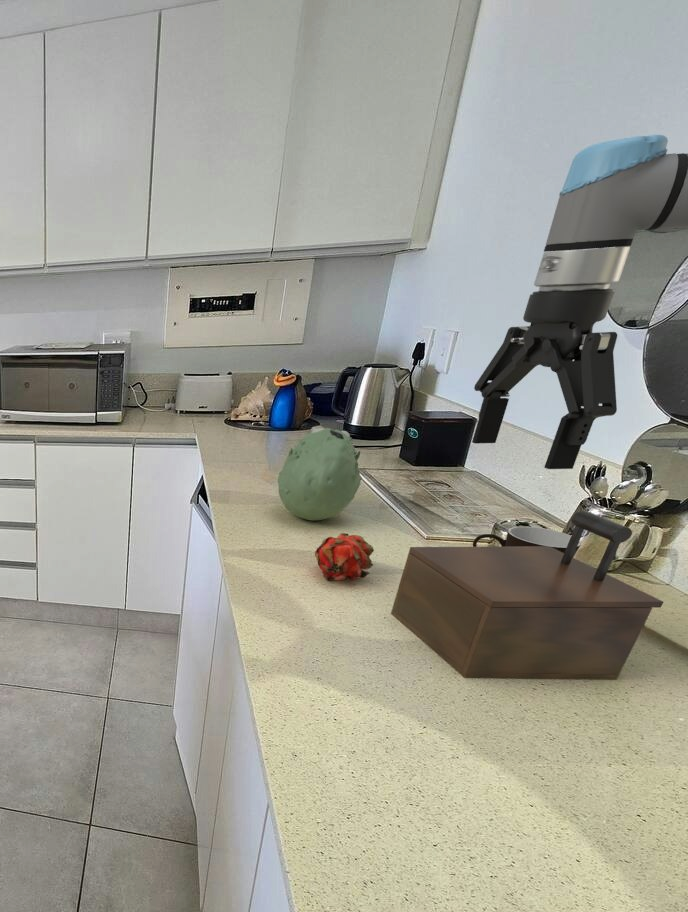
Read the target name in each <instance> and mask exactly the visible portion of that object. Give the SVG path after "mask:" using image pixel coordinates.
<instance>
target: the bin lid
mask: <svg viewBox="0 0 688 912" xmlns="http://www.w3.org/2000/svg"><path fill="white" fill-rule="evenodd" d="M570 522H571V524H572V526H574V528H573V531H572V533H571V538H570V540H569V543H568V545H567V548H566V550H565V553H562V552H560V551H558V550H556V549H554V548H552V547H550V546H501V545H499V546H477V547H473V546H410V548H409V550H408V553H409V552H410V553H411V554H413V555H414V556H416V557H417V558H419V559H420V560H422V561H423V562H425V563H426V564H428V565H429V566H431V567H432V568H434V569H435V570H437V571H438V572H440V573H441V574H442V575H444V576H445V577H447V578H448V579H450V580H451V581H453V582H454V583H456V584H457V585H459V586H460V587H462V588H463V589H465V590H466V591H468V592H469V593H471V594H472V595H474V596H475V597H477V598H478V599H480V600H481V601H483V602H484V603H485V604H487V605H488V606H490V607H644V608H652V609H654V608H657V609H658V608H662V606H663V605H664V601H663V600H661V599H659V598H658V597H657V598H656V597H655V596H653V595H651V594H648V593H647V592H644V591H643V590H641V589H639V588H636V587H634V586H632V585H630V584H628V583H626V582H624V581H622V580H620V579H618V578H615V577H614V576H612V575H610V574H608V571H609V569H610V567H611V564H612V562H613V560H614V558H615V556H616V553H617V551H618V549H619V547H620V545H621V544H622V543H626V541H628V540H629V539H630V538H631V537H632V535H633V531H632V529H631V527H628V526H626V525H623V524H620V523H618V522H615V521H613V520H611V519H607V518H605V517H602V516H600V515H598V514H595V513H592V512H590V511H587V510H579V511H577V512H575V513H574V514H573V515H572V516H571V519H570ZM584 531H587V532H590V533H592V534H594V535H596V536H599V537H601V538H603V539H606V540H608V544H607V546H606V548H605V551H604V553H603V555H602V557H601V559H600V562H599V564H598V566H597V568H595V567H593V566H590V565H589V564H587V563H585V562H584V561H581V560H579V559H577V558H574V557H573V555H574V553H575V550H576V548H577V546H578V543H579V541H581V539H582V536H583V534H584ZM574 556H575V555H574Z"/></svg>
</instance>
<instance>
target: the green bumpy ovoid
mask: <svg viewBox="0 0 688 912" xmlns="http://www.w3.org/2000/svg"><path fill="white" fill-rule="evenodd" d="M360 456H361V450H359V451H356V448H355V446H354V443H353V437H351V434H350V433H349V432H348V431H346V430H339V429H333V428H330V427H323V426H322V425H314V426H312V427H311V428H310V432H309V433H308V434H305V435H304V436H303V437H302V438H301V439H299V440H298V443H297V444H296V445H295V446H294V448H293V447H291V448H290V449H289V451H288V455H287V457H286V458H285V461H284V464H283V466H282V469H281V470H280V471H279V473H278V474H279V475H278V477H277V484H278V496H279V498H280V500H281V503H282V504H283V506H284V507H285V509H286V510H287V511H288V512H291V513H292V514H293V515H294V516H296V517H298V518H300V519H303V520H307V521H321V520H327V519H329V518H332V517H335V516H336V515H338V514H339V513H341V512H342V511H343V510H345V509H346V508H347V507H348V506H349V505H350V503H351V502H352V501H353V500H354V499H355V496H356V493H357V492H358V490H359V488H360V485H361V481H362V478H363V477H362V475H361V473H360V472H361V469H360V468H359V462H358V460H359V459H360Z"/></svg>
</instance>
